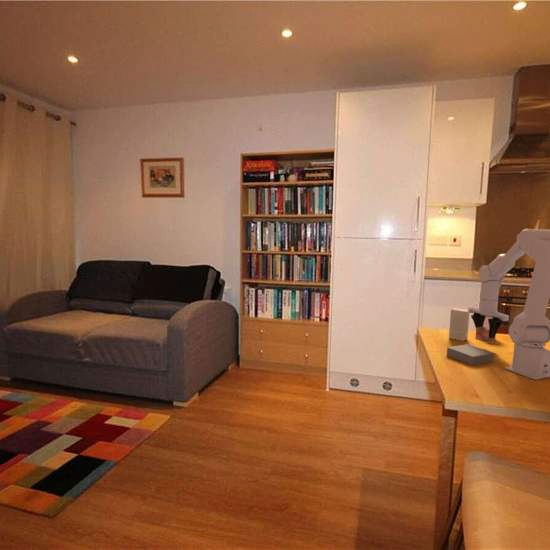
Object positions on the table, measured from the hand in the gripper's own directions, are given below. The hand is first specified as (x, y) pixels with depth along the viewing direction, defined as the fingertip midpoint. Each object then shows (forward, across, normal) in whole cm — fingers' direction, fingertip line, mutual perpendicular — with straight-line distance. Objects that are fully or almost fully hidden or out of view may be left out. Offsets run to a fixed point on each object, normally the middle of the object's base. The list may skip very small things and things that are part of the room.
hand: (485, 335), depth 136 cm
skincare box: (+5, +13, -2) cm, 14 cm away
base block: (+5, -5, +14) cm, 16 cm away
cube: (+2, 0, 0) cm, 2 cm away
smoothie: (+5, +10, -16) cm, 20 cm away
